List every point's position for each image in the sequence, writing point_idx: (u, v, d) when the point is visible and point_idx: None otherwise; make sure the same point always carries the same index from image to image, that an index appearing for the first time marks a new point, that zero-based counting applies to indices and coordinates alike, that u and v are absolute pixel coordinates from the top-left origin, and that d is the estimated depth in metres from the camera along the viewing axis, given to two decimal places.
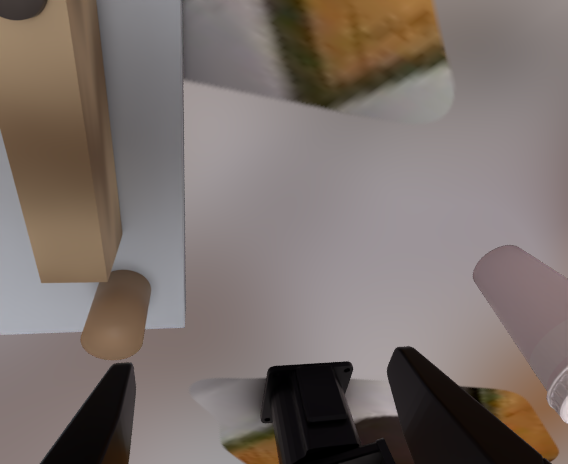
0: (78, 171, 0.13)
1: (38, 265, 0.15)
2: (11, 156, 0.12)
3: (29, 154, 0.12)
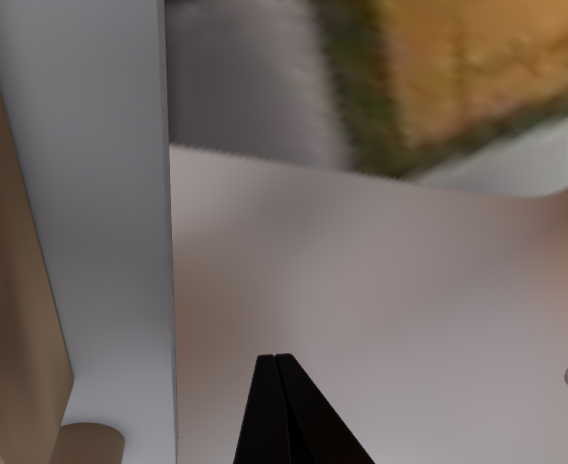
0: None
1: None
2: None
3: None
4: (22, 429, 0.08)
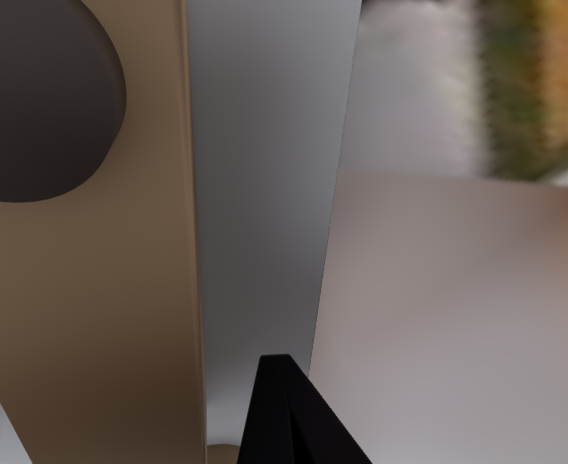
0: (173, 439, 0.06)
1: None
2: (29, 440, 0.05)
3: (70, 431, 0.05)
4: None
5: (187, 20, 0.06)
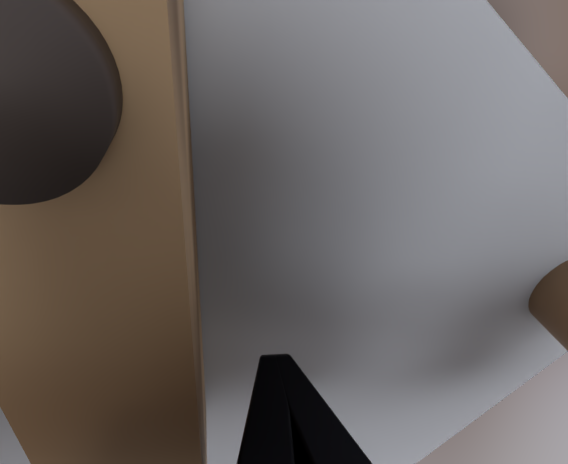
0: (173, 439, 0.06)
1: None
2: (28, 441, 0.05)
3: (69, 433, 0.05)
4: None
5: (184, 22, 0.06)
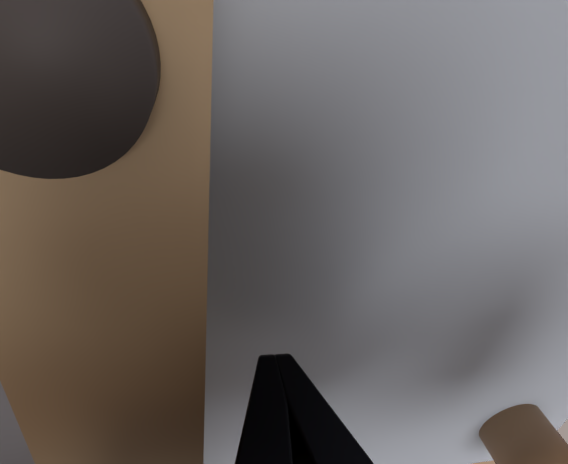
0: (177, 433, 0.06)
1: None
2: (30, 430, 0.05)
3: (72, 422, 0.05)
4: None
5: None
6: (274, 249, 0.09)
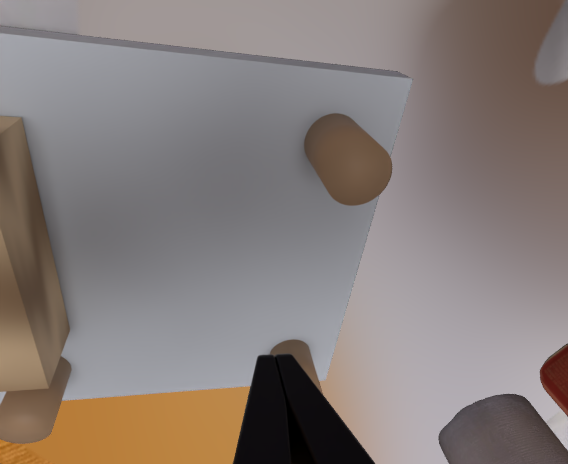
0: (13, 310, 0.15)
1: None
2: None
3: None
4: (45, 341, 0.17)
5: (26, 145, 0.15)
6: (89, 240, 0.18)
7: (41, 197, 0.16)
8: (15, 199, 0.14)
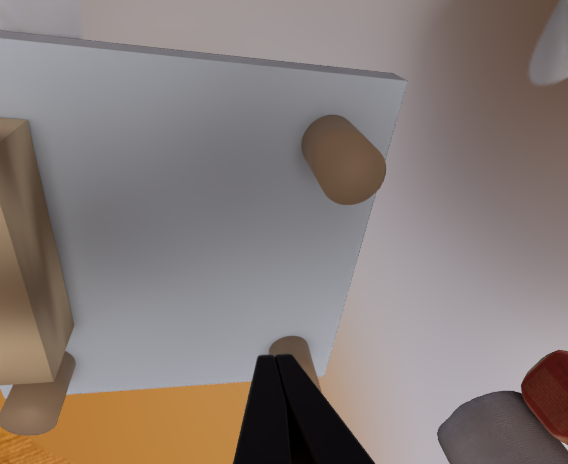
0: (19, 306, 0.15)
1: None
2: None
3: None
4: (50, 336, 0.17)
5: (31, 146, 0.15)
6: (92, 238, 0.18)
7: (46, 196, 0.17)
8: (21, 199, 0.14)
